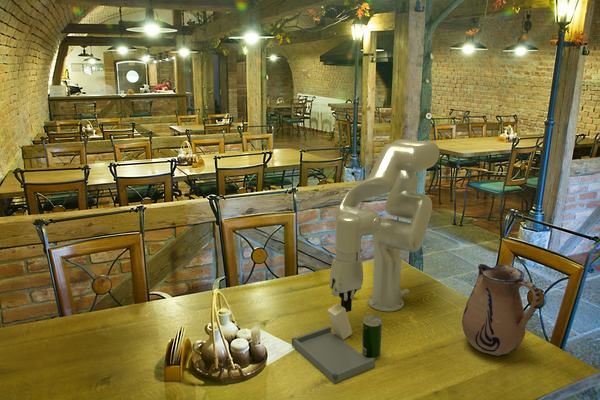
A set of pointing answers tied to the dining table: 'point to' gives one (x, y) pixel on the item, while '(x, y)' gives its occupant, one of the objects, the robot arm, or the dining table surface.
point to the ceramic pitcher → (498, 310)
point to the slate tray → (331, 354)
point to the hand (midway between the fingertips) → (346, 309)
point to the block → (340, 321)
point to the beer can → (371, 336)
